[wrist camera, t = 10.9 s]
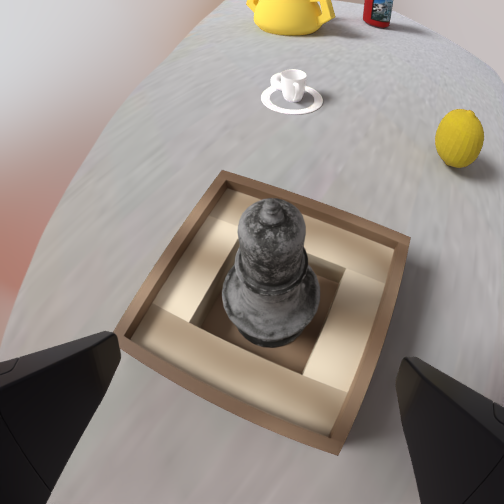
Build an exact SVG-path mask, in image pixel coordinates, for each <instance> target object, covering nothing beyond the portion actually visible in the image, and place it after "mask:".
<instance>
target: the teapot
mask: <svg viewBox="0 0 504 504" xmlns="http://www.w3.org/2000/svg"><path fill="white" fill-rule="evenodd" d="M318 1H320V5H321V9H320V6H319V5H318V3H317V2H318ZM246 5H247V6H248V7H249V8H250V9H251V10H252V11H253V12H254V22H255V24H256V25H257V26H258V27H259V28H261V29H262V30H263V31H265V32H268V33H272V34H278V35H289V36H298V35H308V34H312V33H314V32H315V31H317V30H318V29H319V28H320V27H321V26H322V24H324V23H326V22H328V21H329V20H331V19H333V18H335V13H334V10H333V6H332V3H331V0H247V3H246ZM321 10H322V12H321Z"/></svg>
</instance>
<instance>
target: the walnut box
mask: <svg viewBox="0 0 504 504" xmlns="http://www.w3.org/2000/svg"><path fill="white" fill-rule="evenodd" d="M267 198H278V199H282V200H285V201H287V202H289V203H291V204H293V205H294V206H295V207H296V208H298V209H299V211H300V212H301V214H302V215H303V218H304V221H305V225H306V236H305V242H304V248H305V249H306V252H307V256H308V265H309V266H310V267H311V268H312V270H313V271H314V273H315V274H316V276H317V279H318V282H319V286H320V302H319V306H318V309H317V312H316V314H315V315H314V317H313V319H312V320H311V322H310V323H309V324H308V325H307V326H306V327H305V328H304V330H303V331H302V333H301V335H299V336H298V337H297V338H296V339H295V340H294V341H292V342H290V343H289V344H287V345H285V346H280V347H276V348H266V347H261V346H258V345H255V344H253V343H251V342H250V341H248V340H247V339H245V338H244V337H243V335H242V334H241V333H240V332H239V331H238V329H237V327H236V326H235V324H234V323H233V322H232V321H231V320H230V319H229V317H228V315H227V313H226V311H225V309H224V305H223V299H222V290H223V283H224V281H225V278H226V276H227V273H228V272H229V270H230V269H231V268H232V267H233V265H234V264H235V257H236V253H237V251H238V249H239V247H240V245H239V239H238V233H237V231H238V224H239V220H240V218H241V215H242V213H243V212H244V211H245V210H246V209H247V208H248V207H249V206H251V205H252V204H253V203H255V202H257V201H260V200H262V199H267ZM410 238H411V237H408V236H406V235H404V234H401V233H399V232H396V231H394V230H391V229H389V228H387V227H384V226H382V225H379V224H377V223H374V222H371V221H369V220H366V219H364V218H361V217H359V216H356V215H353V214H351V213H348V212H345V211H343V210H340V209H337V208H335V207H332V206H329V205H326V204H324V203H321V202H318V201H315V200H313V199H310V198H307V197H304V196H301V195H298V194H295V193H292V192H289V191H287V190H284V189H281V188H278V187H275V186H272V185H269V184H265V183H262V182H259V181H256V180H253V179H250V178H247V177H243V176H240V175H237V174H234V173H230V172H227V171H224V170H222V171H221V172H220V173H219V175H218V176H217V177H216V179H215V180H214V181H213V183H212V184H211V185H210V187H209V188H208V189H207V191H206V192H205V194H204V195H203V196H202V198H201V199H200V200H199V202H198V203H197V205H196V206H195V207H194V209H193V210H192V212H191V213H190V214H189V216H188V217H187V219H186V220H185V222H184V223H183V224H182V226H181V227H180V229H179V230H178V232H177V233H176V235H175V236H174V237H173V239H172V240H171V242H170V243H169V245H168V246H167V248H166V249H165V251H164V252H163V254H162V255H161V257H160V258H159V260H158V261H157V263H156V264H155V266H154V267H153V269H152V270H151V272H150V273H149V275H148V276H147V278H146V280H145V281H144V283H143V284H142V286H141V287H140V289H139V291H138V292H137V294H136V295H135V297H134V298H133V300H132V302H131V303H130V305H129V307H128V308H127V310H126V311H125V313H124V315H123V316H122V318H121V320H120V321H119V323H118V325H117V326H116V328H115V330H114V331H113V333H115V334H116V335H117V337H118V342H119V347H120V349H122V350H123V351H125V352H126V353H128V354H129V355H131V356H132V357H134V358H135V359H137V360H138V361H140V362H141V363H143V364H145V365H146V366H148V367H149V368H151V369H153V370H154V371H156V372H158V373H159V374H161V375H163V376H164V377H166V378H168V379H169V380H171V381H173V382H174V383H176V384H178V385H180V386H181V387H183V388H185V389H187V390H189V391H190V392H192V393H194V394H196V395H198V396H200V397H202V398H203V399H205V400H207V401H209V402H211V403H213V404H215V405H217V406H219V407H221V408H223V409H225V410H227V411H229V412H231V413H233V414H235V415H237V416H239V417H242V418H244V419H246V420H248V421H250V422H252V423H255V424H257V425H259V426H261V427H264V428H266V429H268V430H271V431H273V432H275V433H278V434H280V435H283V436H285V437H288V438H290V439H293V440H295V441H298V442H300V443H303V444H306V445H308V446H311V447H314V448H317V449H320V450H322V451H325V452H328V453H331V454H334V455H337V456H338V455H339V453H340V451H341V449H342V447H343V445H344V443H345V440H346V438H347V436H348V434H349V432H350V429H351V427H352V425H353V423H354V420H355V418H356V416H357V413H358V411H359V409H360V406H361V404H362V401H363V399H364V396H365V394H366V391H367V388H368V386H369V383H370V381H371V378H372V375H373V372H374V370H375V367H376V364H377V361H378V358H379V355H380V352H381V349H382V346H383V343H384V340H385V337H386V334H387V330H388V327H389V324H390V320H391V317H392V314H393V310H394V306H395V303H396V299H397V295H398V291H399V287H400V283H401V279H402V275H403V271H404V267H405V262H406V258H407V253H408V248H409V243H410Z"/></svg>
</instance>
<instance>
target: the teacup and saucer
mask: <svg viewBox="0 0 504 504" xmlns="http://www.w3.org/2000/svg"><path fill="white" fill-rule="evenodd" d="M280 81H281V82H280ZM305 84H306V73H304V72H303V71H300V70H296V69H288V70H284V71H283V72H282V73H277V74H275V75H274V76H272V78H271V85H272V86H271V87H269V88H267V89H266V90H265V91H264V92H263V93H262V95H261V100H262V102H263V104H264V105H265V106H266V107H268V108H269V109H271V110H274V111H276V112H280V113H284V114H295V115H296V114H306V113H310V112H313V111H316V110H317V109H319V108H320V107H321V106H322V103H323V98H322V96H321V95H320V93H318V92H317V91H316V90H314V89H313V88H311V87H308V86H305ZM275 90H279V91H282V92H283V96H284V98H285V100H287V101H289V102H299V101H300V100H301V99H302V97H303V95H304V91H307V92H309V93H310V94H311V95H312V96H313V97H314V103H313V104H312V105H311V106H310V107H308V108H305V109H300V110H289V109H283V108H280V107H278V106H276V105H274V104H273V103H272V102H271V101H270V95H271V93H272V92H274V91H275Z"/></svg>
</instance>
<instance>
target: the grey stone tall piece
mask: <svg viewBox="0 0 504 504" xmlns="http://www.w3.org/2000/svg"><path fill="white" fill-rule="evenodd" d="M237 233H238V239H239V245H240V247H239V249H238V251H237V253H236V257H235V264H234V265H233V267H232V268H231V269H230V270H229V272H228V273H227V276H226V278H225V281H224V283H223V290H222V299H223V305H224V309H225V311H226V313H227V315H228V317H229V319H230V320H231V321H232V322H233V323H234V324H235V326H236V327H237V329H238V331H239V332H240V333H241V334H242V335H243V337H244V338H245V339H247V340H248V341H250V342H251V343H253V344H255V345H258V346H261V347H266V348H276V347H280V346H285V345H287V344H289V343H290V342H292V341H294V340H295V339H296V338H297V337H298V336H299V335H301V333H302V331H303V330H304V328H305V327H306V326H307V325H308V324H309V323H310V322H311V320H312V319H313V317H314V315H315V314H316V312H317V309H318V306H319V302H320V286H319V282H318V279H317V276H316V274H315V273H314V271H313V270H312V268H311V267H310V266H309V265H308V256H307V252H306V249H305V248H304V242H305V236H306V225H305V221H304V218H303V215H302V214H301V212H300V211H299V209H298V208H296V207H295V206H294V205H293V204H291V203H289V202H287V201H285V200H282V199H278V198H267V199H262V200H260V201H257V202H255V203H253V204H252V205H251V206H249V207H248V208H247V209H246V210H245V211H244V212H243V213H242V215H241V218H240V220H239V224H238V231H237Z"/></svg>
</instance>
